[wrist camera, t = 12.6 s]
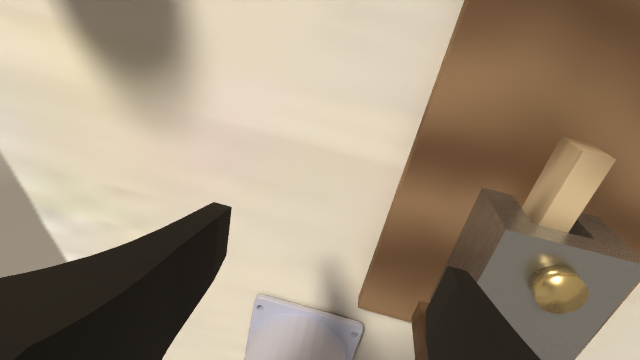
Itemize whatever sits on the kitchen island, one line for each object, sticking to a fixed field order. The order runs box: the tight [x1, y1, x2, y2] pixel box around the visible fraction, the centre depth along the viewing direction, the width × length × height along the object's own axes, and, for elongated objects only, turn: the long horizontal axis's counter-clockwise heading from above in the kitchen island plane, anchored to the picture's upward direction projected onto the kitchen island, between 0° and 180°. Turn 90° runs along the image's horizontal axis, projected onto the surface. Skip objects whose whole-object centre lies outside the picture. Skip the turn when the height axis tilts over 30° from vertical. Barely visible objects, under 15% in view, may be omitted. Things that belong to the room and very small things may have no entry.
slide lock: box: [430, 187, 640, 360], centre depth 18 cm, size 8×6×5 cm
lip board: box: [358, 0, 640, 360], centre depth 17 cm, size 22×14×4 cm, turn 168°
